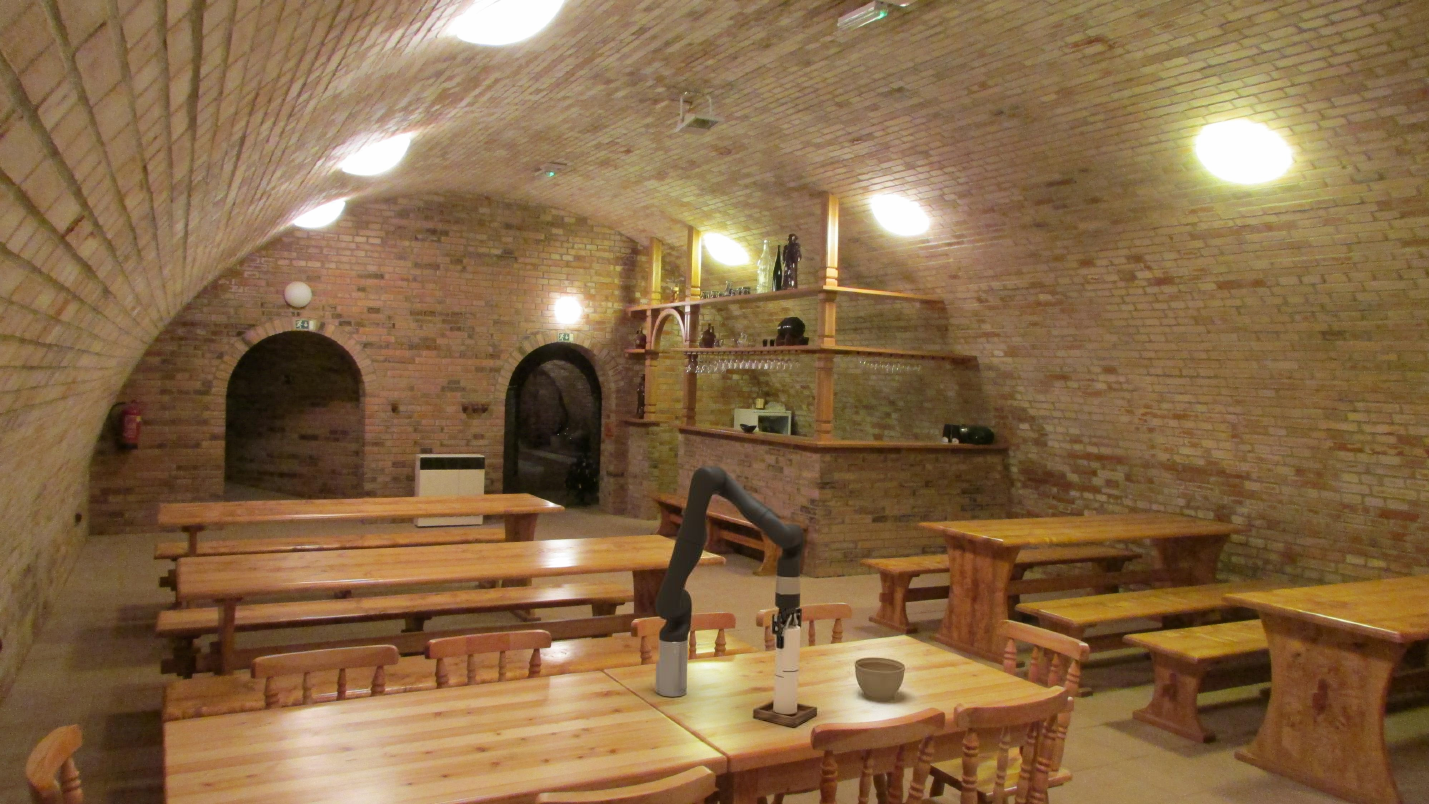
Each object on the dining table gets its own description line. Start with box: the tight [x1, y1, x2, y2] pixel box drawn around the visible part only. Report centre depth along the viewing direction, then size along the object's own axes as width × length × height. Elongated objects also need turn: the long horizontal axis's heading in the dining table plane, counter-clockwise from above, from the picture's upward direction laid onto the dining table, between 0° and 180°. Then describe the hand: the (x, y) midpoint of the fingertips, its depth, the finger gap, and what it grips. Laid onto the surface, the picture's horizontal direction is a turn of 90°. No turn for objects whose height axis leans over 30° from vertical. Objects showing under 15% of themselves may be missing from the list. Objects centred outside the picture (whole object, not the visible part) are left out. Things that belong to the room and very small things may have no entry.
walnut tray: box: [752, 699, 818, 728], centre depth 290 cm, size 14×14×2 cm
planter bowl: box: [854, 656, 906, 702], centre depth 312 cm, size 16×16×11 cm
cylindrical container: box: [773, 625, 801, 714], centre depth 290 cm, size 7×7×25 cm
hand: (786, 645), depth 290 cm, fingers closed on cylindrical container, 7 cm apart
